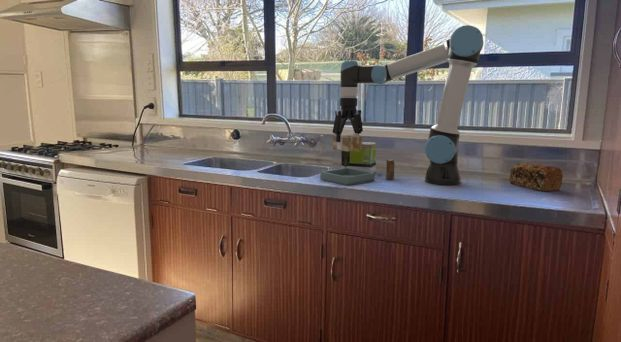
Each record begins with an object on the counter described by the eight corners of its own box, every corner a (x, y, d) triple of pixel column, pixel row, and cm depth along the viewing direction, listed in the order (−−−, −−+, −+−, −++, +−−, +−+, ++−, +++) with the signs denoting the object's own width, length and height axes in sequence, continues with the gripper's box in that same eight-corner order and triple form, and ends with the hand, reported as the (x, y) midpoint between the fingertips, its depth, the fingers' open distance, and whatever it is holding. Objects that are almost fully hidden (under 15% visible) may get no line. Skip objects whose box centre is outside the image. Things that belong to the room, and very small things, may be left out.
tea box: (376, 172, 224) (377, 142, 221) (370, 175, 215) (370, 144, 212) (347, 169, 230) (348, 140, 228) (340, 172, 221) (341, 142, 219)
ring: (347, 147, 206) (347, 134, 205) (366, 150, 198) (366, 136, 197) (333, 149, 201) (333, 135, 200) (351, 152, 192) (351, 138, 191)
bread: (562, 190, 183) (564, 166, 181) (541, 192, 180) (543, 167, 178) (527, 182, 200) (529, 160, 199) (507, 183, 197) (509, 161, 195)
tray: (374, 180, 201) (374, 173, 201) (347, 185, 191) (347, 177, 190) (346, 175, 214) (346, 167, 214) (320, 179, 204) (320, 171, 203)
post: (393, 178, 206) (394, 160, 204) (389, 179, 204) (390, 160, 202) (389, 178, 208) (390, 159, 206) (385, 178, 206) (386, 159, 204)
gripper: (359, 97, 206) (358, 146, 210) (324, 97, 192) (323, 149, 196) (372, 97, 200) (370, 147, 204) (336, 97, 186) (335, 151, 190)
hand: (347, 148), depth 200 cm, fingers closed on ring, 9 cm apart
